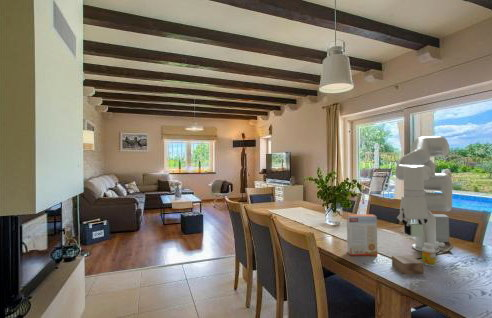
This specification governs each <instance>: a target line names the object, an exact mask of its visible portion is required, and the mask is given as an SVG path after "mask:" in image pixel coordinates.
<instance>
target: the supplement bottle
mask: <svg viewBox="0 0 492 318" xmlns="http://www.w3.org/2000/svg"><path fill="white" fill-rule="evenodd" d="M436 256H437V255H436V251H435V249H434V244H432V243H424V247H423V248H422V251H421V262H423V263H424V266H425V265H426V266H430V267H434V266H436V263H437V262H436V259H437V258H436Z"/></svg>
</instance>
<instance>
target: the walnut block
mask: <svg viewBox="0 0 492 318" xmlns="http://www.w3.org/2000/svg"><path fill="white" fill-rule="evenodd" d="M391 267H393V268H395V269H396V270H397V271H398V272H400V273H401V274H402V275H424V274H425V273H424V271H425V268H424V267H425V264H424V263H423V262H422V260H419V259H417V258H416V257H414V256H413V255H391Z"/></svg>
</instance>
